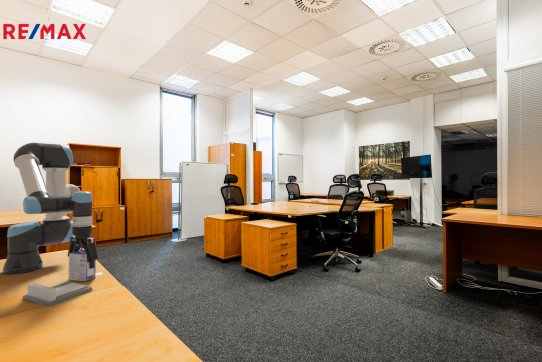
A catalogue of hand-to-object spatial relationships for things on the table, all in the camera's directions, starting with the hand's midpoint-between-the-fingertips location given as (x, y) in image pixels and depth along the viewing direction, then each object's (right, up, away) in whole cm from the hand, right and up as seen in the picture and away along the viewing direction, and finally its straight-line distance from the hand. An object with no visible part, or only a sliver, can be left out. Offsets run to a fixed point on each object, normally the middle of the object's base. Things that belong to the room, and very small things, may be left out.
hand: (82, 273), depth 127 cm
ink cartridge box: (0, -3, 0) cm, 3 cm away
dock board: (+2, -2, -17) cm, 18 cm away
